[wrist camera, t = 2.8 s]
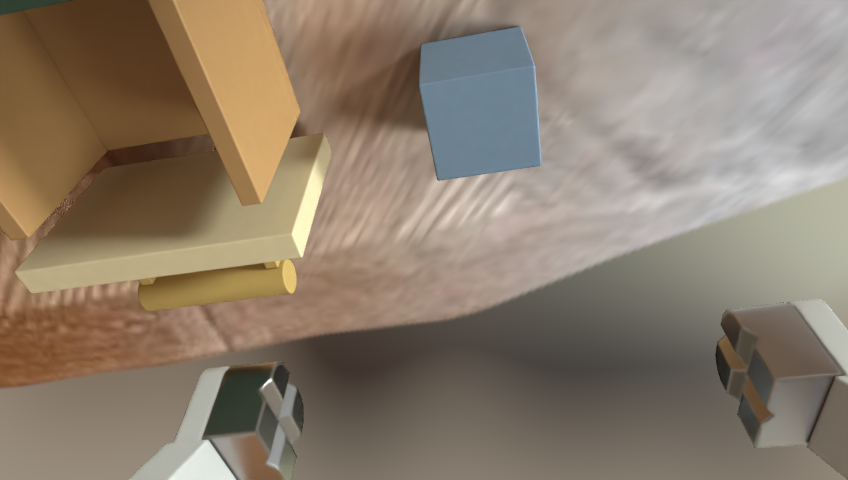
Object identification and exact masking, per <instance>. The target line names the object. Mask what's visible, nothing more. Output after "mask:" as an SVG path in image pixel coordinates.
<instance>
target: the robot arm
mask: <svg viewBox="0 0 848 480" xmlns="http://www.w3.org/2000/svg"><path fill="white" fill-rule="evenodd" d="M721 326H722V328H723V330H724V332H725V335H724V336H723V337H722V338H721V339H720V340H719V341H718V342H717V347H716V364H717V370H718V374H719V376H720V380H721V382H722V384H723V386H724V388H725V390H726V393H727V394H729V395H730V396H732V397H733V398H735V399H736V400H738V401H739V402H740V406H739V410H738V414H737V415H738V417H739V419H740V421H741V423H742V425H743V427H744V429H745V431H746V433H747V435H748V436H749V439H750V441H751V442H752V444H753V446H754V448H761V447H775V446H776V447H777V446H792V445H808V446H807V448H809V449H810V450H811V451H813V452H814V453H815V454H816V455H817V456H819V457H820V458H821V459H822V460H824V461H825V462H826V463H827V464H829V465H830V466H831V467H832V468H834V469H835V470H836V471H837V472H839V473H840V474H841V475H842V476H844V477H845V478H846V479H847V480H848V330H847V329H846V327H845V326H844V325H843V324H842V322H841V321H840V320H839V319H838V317H837V316H836V315H835V314H834V312H833V311H832V310H831V309H830V307H829V306H828V305H827V303H825V302H824V301H822V300H820V299H811V300H802V301H794V302H787V303H784V302H783V303H775V304H767V305H760V306H751V307H743V308H735V309H728V310H726V311H725V313H724V314H723V317H722V321H721ZM289 374H290V372H289V371H288V369H287V367H286V365H285V363H284V362H269V363H258V364H247V365H235V366H228V367H217V368H207V369H206V370H205V371H204V372H203V373H202V374H201V375H200V377H199V379H198V382H197V384H196V387H195V389H194V392H193V394H192V397H191V399H190V402H189V404H188V407H187V409H186V412H185V414H184V417H183V419H182V422H181V424H180V427H179V429H178V432H177V434H176V437H175V439H174V442H173V443H168V444H165V445H164V446H163V447H162V448H161V449H160V450H159V451H158V452H157V453H155V454H154V455H153V456H152V457H151V458H150V459H149V460H148V461H147V462H146V463H145V464H144V465H143V466H142V467H141V468H140V469H139V470H138V471H137V472H135V473H134V474H133V475H132V476H131V477H130V478H129V479H128V480H292V477H293V473H294V468H295V463H296V459H297V455H296V454H295V452H294V450H293V448H292V445H293V444H294V443H295V442H296V441H297V439H298V438H299V437H300V436H301V433H302V428H303V422H304V417H303V415H304V412H303V403H302V398H301V395H300V393H299V391H298V389H297V387H295V386H293V385H292V384H290V383H288V378H289Z"/></svg>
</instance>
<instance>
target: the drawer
mask: <svg viewBox="0 0 848 480" xmlns="http://www.w3.org/2000/svg"><path fill="white" fill-rule="evenodd" d="M299 114H300V109H299V106H298V103H297V100H296V97H295V94H294V91H293V88H292V86H291V83H290V80H289V77H288V74H287V71H286V68H285V65H284V62H283V59H282V56H281V53H280V51H279V48H278V45H277V42H276V39H275V36H274V33H273V30H272V27H271V24H270V21H269V19H268V16H267V13H266V10H265V7H264V4H263V1H262V0H74V1H69V2H64V3H59V4H54V5H49V6H45V7H40V8H35V9H30V10H25V11H20V12H15V13H10V14H5V15H0V227H1V228H2V230H3V231H4V232H5V233H6V235H7V236H8V237H9V238H10V240H18V239H25V238H30V237H31V236H32V234H33V233H34V232H35V231H36V230H37V229H38V228H39V227H40V226H41V224H42V223H43V222H44V221H45V220H46V219H47V218H48V217H49V216H50V214H51V213H52V212H53V211H54V210H55V209H56V208H57V207H58V206H59V204H60V203H61V202H62V201H63V200H64V199H65V198H66V197H67V196H68V194H69V193H70V192H71V191H72V190H73V189H74V188H75V187H76V185H77V184H78V183H79V182H80V181H81V180H82V179H83V178H84V177H85V175H86V174H87V173H88V172H89V171H90V170H91V169H92V168H93V167H94V165H95V164H96V163H97V162H98V161H99V160H100V159H101V158H102V157H103V155H104V154H105V153H106V152H107V151H109V150H115V149H121V148H127V147H133V146H139V145H145V144H152V143H158V142H164V141H170V140H176V139H182V138H188V137H194V136H200V135H206V134H209V135H210V137H211V139H212V142H213V144H214V146H215V148H216V150H215V151H208V152H202V153H196V154H190V155H184V156H177V157H171V158H165V159H159V160H153V161H146V162H140V163H134V164H128V165H121V166H115V167H109V168H104V169H103V170H102V171H101V173H100V174H99V175H98V176H97V177H96V178H95V179H94V181H93V182H92V183H91V184H90V185H89V186H88V188H87V189H86V190H85V191H84V192H83V193H82V194H81V196H80V197H79V198H78V199H77V200H76V201H75V203H74V204H73V205H72V206H71V207H70V208H69V209H68V211H67V212H66V213H65V214H64V215H63V216H62V218H61V219H60V220H59V221H58V222H57V223H56V224H55V226H54V227H53V228H52V229H51V230H50V231H49V233H48V234H47V235H46V236H45V237H44V238H43V239H42V241H41V242H40V243H39V244H38V245H37V246H36V248H35V249H34V250H33V251H32V252H31V253H30V254H29V256H28V257H27V258H26V259H25V260H24V261H23V263H22V264H21V265H20V266H19V267H18V268H17V269H16V271H15V272H14V273H15V275H16V276H17V277H18V278H19V280H20V281H21V282H22V283H23V284H24V286H25V287H26V288H27V289H28V290H29V292H30V293H32V294H34V293H41V292H49V291H56V290H64V289H71V288H79V287H86V286H94V285H101V284H109V283H117V282H124V281H132V280H138V281H139V282H140V284H139V287H138V298H139V302H140V304H141V306H142V307H143V308H144V309H145V310H147V311H156V310H164V309H172V308H180V307H188V306H196V305H204V304H212V303H220V302H228V301H236V300H244V299H252V298H260V297H268V296H276V295H284V294H291V293H293V292H294V291H295V288H296V272H295V268H294V265H293V263H292V261H291V260H290V259H297V258H302V257H303V253H304V250H305V246H306V243H307V239H308V236H309V232H310V229H311V225H312V221H313V218H314V214H315V211H316V207H317V204H318V200H319V197H320V193H321V190H322V186H323V183H324V179H325V176H326V172H327V169H328V165H329V162H330V158H331V155H332V153H331V150H330V147H329V143H328V140H327V137H326V134H325V133H320V134H314V135H308V136H302V137H295V138H290V136H291V133H292V131H293V129H294V126H295V124H296V121H297V119H298V117H299Z"/></svg>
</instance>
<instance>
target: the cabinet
mask: <svg viewBox="0 0 848 480" xmlns="http://www.w3.org/2000/svg"><path fill="white" fill-rule="evenodd" d="M69 1H74V0H0V15H5V14H10V13H15V12H20V11H25V10H30V9H35V8H40V7H45V6H49V5H54V4H59V3H64V2H69Z"/></svg>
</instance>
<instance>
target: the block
mask: <svg viewBox="0 0 848 480" xmlns="http://www.w3.org/2000/svg"><path fill="white" fill-rule="evenodd" d="M419 91H420V96H421V101H422V106H423V111H424V116H425V121H426V126H427V131H428V136H429V141H430V146H431V151H432V156H433V161H434V166H435V171H436V176H437V180H439V181H440V180H446V179H453V178H460V177H467V176H474V175H481V174H488V173H494V172H501V171H508V170H515V169H522V168H529V167H535V166H541V149H540V134H539V119H538V104H537V89H536V74H535V65H534V62H533V59H532V56H531V53H530V50H529V47H528V45H527V42H526V39H525V36H524V33H523V30H522V28H521V27H515V28H509V29H503V30H498V31H492V32H486V33H481V34H475V35H470V36H464V37H458V38H453V39H447V40H441V41H436V42H430V43H424V44H421V53H420V69H419Z"/></svg>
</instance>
